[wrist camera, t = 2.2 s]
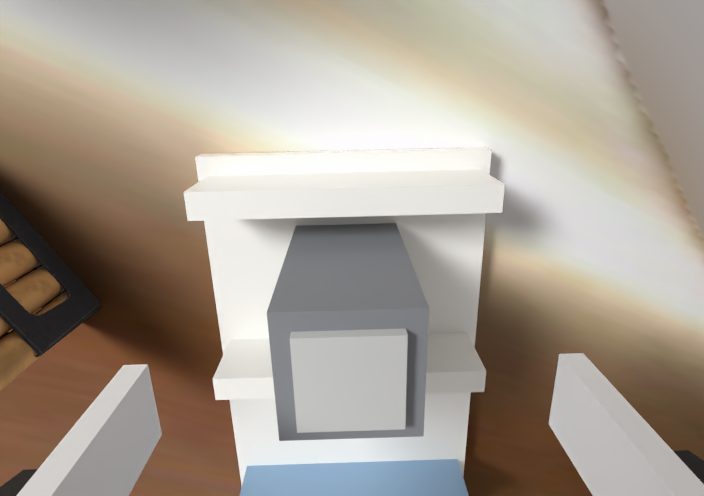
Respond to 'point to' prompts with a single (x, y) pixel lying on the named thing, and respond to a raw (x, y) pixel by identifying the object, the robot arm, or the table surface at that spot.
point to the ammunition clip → (34, 295)
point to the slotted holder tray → (431, 270)
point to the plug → (348, 335)
